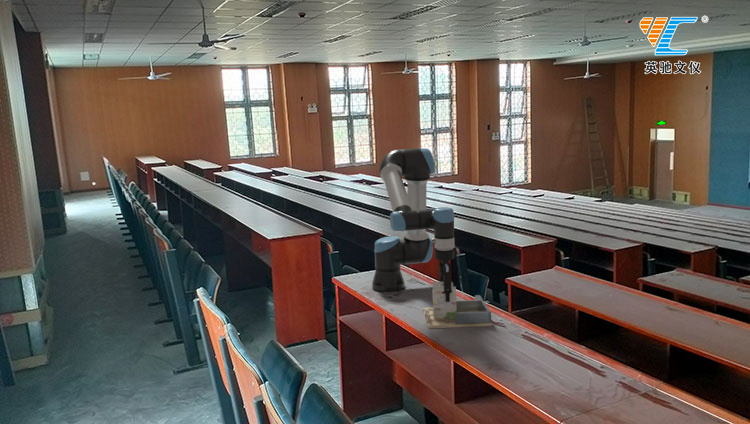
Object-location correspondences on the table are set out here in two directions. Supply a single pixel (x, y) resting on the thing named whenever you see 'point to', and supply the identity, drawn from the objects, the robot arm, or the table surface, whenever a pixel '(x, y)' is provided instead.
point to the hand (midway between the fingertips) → (445, 305)
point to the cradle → (448, 320)
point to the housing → (472, 316)
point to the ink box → (439, 302)
